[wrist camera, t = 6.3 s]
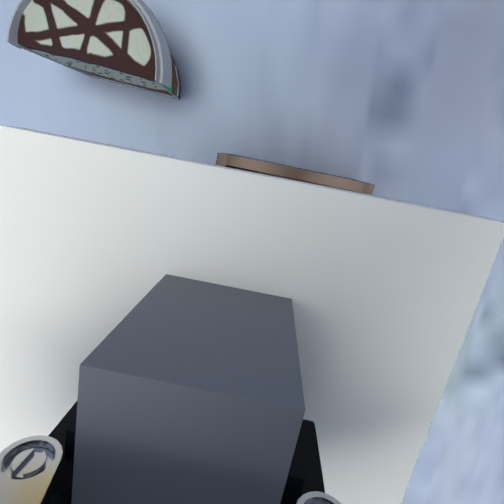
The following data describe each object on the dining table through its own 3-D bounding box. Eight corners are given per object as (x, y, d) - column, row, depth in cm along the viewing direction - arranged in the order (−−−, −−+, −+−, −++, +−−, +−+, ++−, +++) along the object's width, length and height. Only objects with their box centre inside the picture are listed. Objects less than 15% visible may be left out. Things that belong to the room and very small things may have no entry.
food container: (206, 36, 34) (178, -13, 24) (193, 103, 35) (162, 82, 26) (82, 3, 33) (4, -59, 24) (75, 72, 35) (-1, 40, 25)
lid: (484, 216, 11) (734, 285, 5) (359, 557, 15) (416, 822, 9) (22, 128, 11) (-266, 91, 5) (19, 487, 15) (-148, 701, 9)
